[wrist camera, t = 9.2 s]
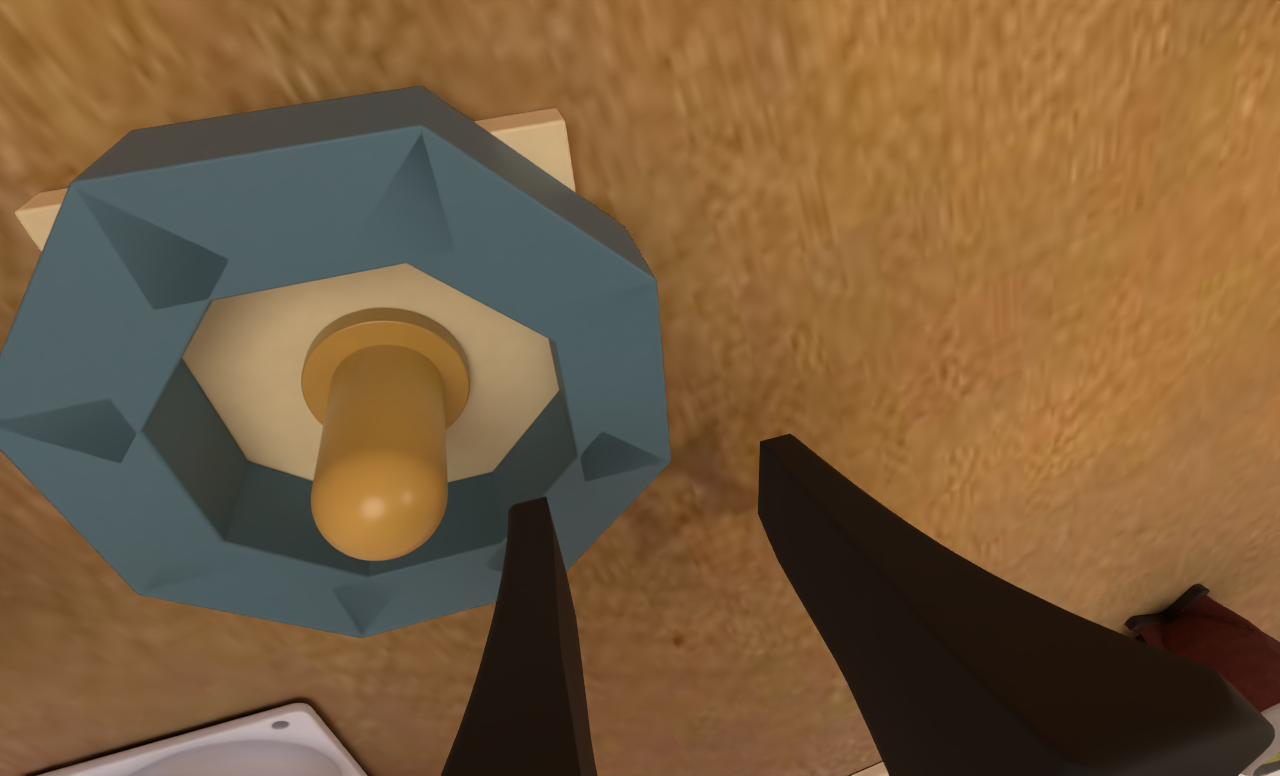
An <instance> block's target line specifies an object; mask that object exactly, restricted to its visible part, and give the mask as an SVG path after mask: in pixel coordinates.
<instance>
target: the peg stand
mask: <svg viewBox="0 0 1280 776" xmlns="http://www.w3.org/2000/svg"><path fill="white" fill-rule="evenodd" d="M473 122H475V123H476V124H478V125H479V126H481V127H482V128H483V129H485V130H486V131H488V132H489V133H491V134H492V135H494V136H495V137H496V138H498V139H499V140H501V141H502V142H504V143H505V144H507V145H508V146H509V147H511V148H512V149H514V150H515V151H517V152H518V153H519V154H521V155H522V156H524V157H525V158H527V159H528V160H530V161H531V162H532V163H534V164H535V165H537V166H538V167H540V168H541V169H542V170H544V171H545V172H547V173H548V174H550V175H551V176H553V177H554V178H555V179H557V180H558V181H560V182H561V183H563V184H564V185H566V186H567V187H568V188H570V189H571V190H573V191H574V192H576V190H575V183H574V176H573V170H572V163H571V157H570V150H569V143H568V137H567V130H566V124H565V121H564V119H563V118H562V116H561V114H560V113H559V111H558V109H556V108H551V109H545V110H539V111H533V112H527V113H521V114H515V115H509V116H503V117H497V118H490V119H484V120H478V121H473ZM67 189H68V188H65V189H59V190H53V191H47V192H41V193H38V194H36V195H35V196H34V197H33V198H32V199H30V200H29V201H28V202H27V203H25V204H24V205H23V206H22V207H20V208H19V209H18V210H17V211H15V215H16V217H17V218H18V220H19V221H20V222H21V224H22V225H23V227H24V228H25V229H26V231H27V232H28V234H29V235H30V236H31V238H32V239H33V241H34V242H35V243H36V245H37V246H38V248H39V249H40V250H41V252H42V250H43V248H44V245H45V243H46V240H47V238H48V236H49V233H50V231H51V228H52V226H53V223H54V221H55V218H56V216H57V214H58V211H59V209H60V206H61V204H62V201H63V199H64V196H65V194H66V192H67ZM182 359H183V360H184V362H185V363H186V365H187V367H188V368H189V370H190V371H191V373H192V374H193V376H194V378H195V379H196V381H197V382H198V384H199V385H200V387H201V389H202V390H203V392H204V393H205V395H206V396H207V398H208V399H209V401H210V403H211V404H212V406H213V407H214V409H215V410H216V412H217V414H218V415H219V417H220V418H221V420H222V421H223V423H224V425H225V426H226V428H227V429H228V431H229V432H230V434H231V436H232V437H233V439H234V440H235V442H236V443H237V445H238V446H239V448H240V450H241V451H242V453H243V454H244V456H245V457H246V459H247V461H250V462H253V463H256V464H259V465H262V466H265V467H269V468H272V469H275V470H278V471H281V472H285V473H288V474H291V475H294V476H297V477H301V478H304V479H307V480H310V481H313V485H312V491H311V509H312V514H313V518H314V521H315V523H316V525H317V528H318V529H319V531H320V533H321V534H322V535H323V537H324V538H325V539H326V540H327V541H328V542H329V543H330V544H331V545H332V546H333V547H334V548H336V549H337V550H339V551H341V552H342V553H344V554H346V555H348V556H350V557H353V558H357V559H361V560H368V561H383V560H390V559H394V558H398V557H401V556H403V555H406V554H408V553H410V552H412V551H413V550H415V549H417V548H418V547H420V546H421V545H422V544H423V543H424V542H426V541H427V540H428V539H429V538H430V537H431V535H432V534H433V533H434V532H435V530H436V529H437V527H438V526H439V524H440V522H441V520H442V518H443V516H444V513H445V510H446V506H447V500H448V482H452V481H456V480H460V479H464V478H468V477H473V476H477V475H481V474H485V473H489V472H493V470H494V469H495V468H496V467H497V466H498V464H499V463H500V462H501V461H502V459H503V458H504V457H505V456H506V455H507V453H508V452H509V451H510V450H511V448H512V447H513V446H514V445H515V444H516V442H517V441H518V440H519V439H520V437H521V436H522V435H523V434H524V433H525V431H526V430H527V429H528V428H529V426H530V425H531V424H532V423H533V422H534V420H535V419H536V418H537V417H538V415H539V414H540V413H541V412H542V411H543V409H544V408H545V407H546V406H547V405H548V403H549V402H550V401H551V400H552V398H553V397H554V396H555V395H556V394H557V392H558V391H559V387H558V382H557V377H556V373H555V368H554V363H553V358H552V353H551V348H550V344H549V339H548V338H547V337H545V336H543V335H541V334H539V333H537V332H535V331H533V330H531V329H530V328H528V327H526V326H524V325H522V324H520V323H518V322H516V321H514V320H513V319H511V318H509V317H507V316H505V315H503V314H501V313H499V312H497V311H496V310H494V309H492V308H490V307H488V306H486V305H484V304H482V303H480V302H479V301H477V300H475V299H473V298H471V297H469V296H467V295H465V294H463V293H462V292H460V291H458V290H456V289H454V288H452V287H450V286H448V285H446V284H445V283H443V282H441V281H439V280H437V279H435V278H433V277H431V276H429V275H428V274H426V273H424V272H422V271H420V270H418V269H416V268H414V267H413V266H411V265H409V264H407V263H404V264H399V265H394V266H388V267H383V268H378V269H373V270H368V271H362V272H357V273H352V274H347V275H342V276H336V277H331V278H326V279H321V280H316V281H311V282H305V283H300V284H295V285H290V286H285V287H279V288H274V289H269V290H264V291H259V292H254V293H248V294H243V295H238V296H233V297H228V298H222V299H217V300H213V301H212V302H211V304H210V306H209V308H208V310H207V312H206V314H205V315H204V317H203V319H202V321H201V323H200V325H199V327H198V328H197V330H196V332H195V334H194V336H193V338H192V340H191V342H190V343H189V345H188V347H187V349H186V351H185V353H184V355H183V356H182Z"/></svg>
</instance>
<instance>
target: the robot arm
mask: <svg viewBox="0 0 1280 776" xmlns="http://www.w3.org/2000/svg"><path fill="white" fill-rule="evenodd" d="M758 515H759V517H760V519H761V522H762V524H763V527H764V529H765V532H766V534H767V536H768V539H769V541H770V543H771V546H772V548H773V550H774V552H775V555H776V557H777V559H778V561H779V563H780V565H781V567H782V568H783V570H784V572H785V574H786V575H787V577H788V579H789V581H790V582H791V584H792V586H793V588H794V589H795V591H796V593H797V595H798V596H799V598H800V600H801V602H802V603H803V605H804V607H805V609H806V610H807V612H808V614H809V615H810V617H811V619H812V621H813V622H814V624H815V626H816V627H817V629H818V631H819V633H820V634H821V636H822V638H823V640H824V641H825V643H826V645H827V646H828V648H829V650H830V652H831V653H832V655H833V657H834V658H835V660H836V662H837V664H838V666H839V668H840V670H841V672H842V673H843V675H844V677H845V679H846V681H847V683H848V685H849V687H850V689H851V692H852V694H853V696H854V698H855V700H856V702H857V705H858V707H859V709H860V711H861V713H862V715H863V718H864V720H865V722H866V724H867V726H868V729H869V731H870V733H871V735H872V737H873V740H874V742H875V744H876V747H877V749H878V751H879V753H880V756H881V758H882V760H883V763H884V765H885V767H886V769H887V772H888V774H889V776H1238V775H1239V774H1240V773H1241V772H1243V771H1244V770H1245V769H1246V768H1247V767H1248V766H1249V765H1250V764H1252V763H1253V762H1254V761H1255V760H1256V759H1257V758H1258V757H1259V756H1260V755H1262V754H1263V753H1264V752H1265V751H1266V749H1267V748H1268V747H1269V746H1270V745H1271V744H1272V742H1273V740H1274V738H1275V729H1274V727H1273V726H1272V724H1271V723H1270V722H1269V721H1268V720H1267V719H1266V718H1265V717H1264V716H1263V715H1262V714H1261V713H1260V712H1259V711H1258V710H1257V709H1256V708H1255V707H1254V706H1253V705H1252V704H1251V703H1250V702H1249V701H1248V700H1247V699H1246V698H1245V697H1244V696H1243V695H1242V694H1241V693H1240V692H1239V691H1238V690H1237V689H1236V688H1234V687H1233V686H1232V685H1231V684H1230V683H1229V682H1228V681H1227V680H1226V679H1225V678H1224V677H1223V676H1222V675H1220V674H1219V673H1218V672H1217V671H1216V670H1215V669H1214V668H1212V667H1209V666H1207V665H1204V664H1201V663H1198V662H1196V661H1193V660H1190V659H1187V658H1185V657H1182V656H1179V655H1176V654H1174V653H1171V652H1168V651H1165V650H1163V649H1160V648H1157V647H1154V646H1152V645H1149V644H1146V643H1143V642H1141V641H1138V640H1135V639H1133V638H1130V637H1128V636H1125V635H1123V634H1120V633H1118V632H1116V631H1113V630H1111V629H1108V628H1106V627H1104V626H1101V625H1099V624H1096V623H1094V622H1092V621H1089V620H1087V619H1084V618H1082V617H1080V616H1078V615H1075V614H1073V613H1071V612H1069V611H1066V610H1064V609H1062V608H1060V607H1058V606H1056V605H1054V604H1052V603H1050V602H1048V601H1045V600H1043V599H1041V598H1039V597H1037V596H1035V595H1033V594H1031V593H1029V592H1027V591H1025V590H1023V589H1021V588H1018V587H1016V586H1014V585H1012V584H1010V583H1008V582H1006V581H1005V580H1003V579H1001V578H999V577H997V576H995V575H993V574H991V573H989V572H988V571H986V570H984V569H982V568H981V567H979V566H977V565H975V564H973V563H972V562H970V561H968V560H966V559H965V558H963V557H961V556H959V555H958V554H956V553H954V552H953V551H951V550H950V549H948V548H946V547H945V546H943V545H941V544H940V543H938V542H937V541H935V540H933V539H932V538H930V537H929V536H927V535H926V534H924V533H923V532H921V531H920V530H918V529H917V528H915V527H914V526H912V525H911V524H909V523H908V522H906V521H905V520H903V519H902V518H900V517H899V516H897V515H896V514H895V513H893V512H892V511H890V510H889V509H887V508H886V507H885V506H883V505H882V504H881V503H879V502H878V501H877V500H875V499H874V498H872V497H871V496H870V495H868V494H867V493H866V492H864V491H863V490H861V489H860V488H859V487H857V486H856V485H855V484H854V483H852V482H851V481H850V480H848V479H847V478H846V477H844V476H843V475H842V474H841V473H839V472H838V471H837V470H836V469H834V468H833V467H832V466H830V465H829V464H828V463H827V462H825V461H824V460H823V459H822V458H820V457H819V456H818V455H817V454H816V453H814V452H813V451H812V450H811V449H809V448H808V447H807V446H806V445H804V444H803V443H802V442H801V441H799V440H798V439H797V438H796V437H794V436H793V435H791V434H787V435H783V436H779V437H775V438H771V439H767V440H763V441H760V461H759V495H758ZM37 776H368V775H367V774H366V773H365V772H364V771H363V769H362V768H361V767H360V766H359V765H358V763H357V762H356V761H355V760H354V758H353V757H352V756H351V755H350V754H349V752H348V751H347V750H346V749H345V747H344V746H343V745H342V744H341V743H340V741H339V740H338V739H337V738H336V736H335V735H334V734H333V733H332V732H331V730H330V729H329V728H328V727H327V726H326V724H325V723H324V722H323V721H322V719H321V718H320V717H319V716H318V715H317V713H316V712H315V711H314V710H313V708H312V707H311V706H309V705H308V704H305V703H293V704H289V705H285V706H282V707H278V708H275V709H271V710H267V711H264V712H260V713H257V714H253V715H250V716H246V717H243V718H239V719H236V720H232V721H228V722H225V723H221V724H218V725H214V726H211V727H207V728H204V729H200V730H196V731H193V732H189V733H186V734H182V735H179V736H175V737H172V738H168V739H164V740H161V741H157V742H154V743H150V744H147V745H143V746H140V747H136V748H133V749H129V750H125V751H122V752H118V753H115V754H111V755H108V756H104V757H101V758H97V759H93V760H90V761H86V762H83V763H79V764H76V765H72V766H69V767H65V768H62V769H58V770H54V771H51V772H47V773H44V774H40V775H37ZM441 776H597V771H596V766H595V761H594V754H593V748H592V742H591V735H590V727H589V719H588V710H587V702H586V694H585V686H584V677H583V669H582V661H581V653H580V645H579V636H578V628H577V620H576V615H575V610H574V606H573V601H572V597H571V592H570V588H569V583H568V579H567V574H566V570H565V565H564V561H563V558H562V554H561V550H560V546H559V542H558V539H557V535H556V531H555V527H554V523H553V519H552V516H551V512H550V508H549V504H548V500H547V497H546V496H545V497H541V498H537V499H533V500H529V501H525V502H521V503H517V504H514V505H512V507H511V508H510V509H509V510H508V532H507V543H506V551H505V558H504V565H503V571H502V577H501V582H500V587H499V591H498V596H497V601H496V606H495V611H494V615H493V620H492V624H491V627H490V631H489V635H488V638H487V642H486V646H485V650H484V653H483V657H482V661H481V664H480V668H479V671H478V674H477V677H476V681H475V684H474V687H473V690H472V693H471V696H470V699H469V702H468V705H467V708H466V711H465V714H464V716H463V719H462V722H461V725H460V728H459V730H458V733H457V735H456V738H455V741H454V743H453V746H452V748H451V751H450V753H449V756H448V759H447V761H446V764H445V766H444V769H443V771H442V774H441Z"/></svg>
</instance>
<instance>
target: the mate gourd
mask: <svg viewBox="0 0 1280 776" xmlns="http://www.w3.org/2000/svg"><path fill="white" fill-rule="evenodd" d="M1209 592H1210V590H1208V589H1207V588H1205V587H1204V586H1202V585H1195V586H1193V587H1192V588H1191V589H1190V590H1189V591H1188V592H1187V593H1185V594H1184V595H1183V596H1182V597H1181V598H1180V599H1179V600H1178V601H1177V602H1176V603H1175V604H1173V605H1172V606H1171V607H1170V608H1169V609H1168V610H1167V611H1166V612H1164V613H1162V614H1158V615H1146V616H1136V617H1133V618H1131V619H1130V620H1129V621H1128V622H1127V623H1126V624H1125V625H1126V626H1127V627H1128V628H1129V630H1130V631H1139V632H1140V634H1141V635H1140V636H1139V637H1137V638H1136V639H1135V640H1138V641H1141V642H1143V643H1146V644H1149V645H1152V646H1154V647H1157V648H1160V649H1163V650H1165V651H1168V652H1171V653H1174V654H1176V655H1179V656H1182V657H1185V658H1187V659H1190V660H1193V661H1196V662H1198V663H1201V664H1204V665H1207V666H1209V667H1212V668H1214V669H1215V670H1216V671H1217V672H1218V673H1219V674H1220V675H1222V676H1223V677H1224V678H1225V679H1226V680H1227V681H1228V682H1229V683H1230V684H1231V685H1232V686H1233V687H1234V688H1236V689H1237V690H1238V691H1239V692H1240V693H1241V694H1242V695H1243V696H1244V697H1245V698H1246V699H1247V700H1248V701H1249V702H1250V703H1251V704H1252V705H1253V706H1254V707H1255V708H1256V709H1257V710H1258V711H1259V712H1260V713H1261V714H1262V715H1263V716H1264V717H1265V718H1266V719H1267V720H1268V721H1269V722H1270V723H1271V724H1272V726H1273V727H1274V729H1275V738H1274V740H1273V742H1272V744H1271V745H1270V746H1269V747H1268V748H1267V749H1266V751H1265V752H1264V753H1263V754H1262V755H1260V756H1259V757H1258V758H1257V759H1256V760H1255V761H1254V762H1253V763H1252V764H1250V765H1249V766H1248V767H1247V768H1246V769H1245V770H1244V771H1243V772H1241V774H1244V775H1246V776H1264V775H1268V774H1270V773H1273V772H1275V771H1278V770H1280V642H1279V641H1277V640H1275V639H1274V638H1272V637H1271V636H1269V635H1267V634H1266V633H1264V632H1262V631H1261V630H1260V629H1258V628H1257V627H1256V626H1255V625H1253V624H1252V623H1251V622H1249V621H1248V620H1246V619H1245V618H1243V617H1241V616H1240V615H1238V614H1236V613H1235V612H1233V611H1231V610H1230V609H1228V608H1226V607H1224V606H1222V605H1221V604H1219V603H1217V602H1216V601H1214V600H1212V599H1211V598H1209V597H1208V596H1206V595H1207V594H1208V593H1209Z"/></svg>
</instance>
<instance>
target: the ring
mask: <svg viewBox="0 0 1280 776" xmlns="http://www.w3.org/2000/svg"><path fill="white" fill-rule="evenodd" d="M404 263H407V264H409V265H411V266H413V267H414V268H416V269H418V270H420V271H422V272H424V273H426V274H428V275H429V276H431V277H433V278H435V279H437V280H439V281H441V282H443V283H445V284H446V285H448V286H450V287H452V288H454V289H456V290H458V291H460V292H462V293H463V294H465V295H467V296H469V297H471V298H473V299H475V300H477V301H479V302H480V303H482V304H484V305H486V306H488V307H490V308H492V309H494V310H496V311H497V312H499V313H501V314H503V315H505V316H507V317H509V318H511V319H513V320H514V321H516V322H518V323H520V324H522V325H524V326H526V327H528V328H530V329H531V330H533V331H535V332H537V333H539V334H541V335H543V336H545V337H547V338H548V339H549V344H550V348H551V353H552V358H553V363H554V368H555V373H556V377H557V382H558V387H559V391H558V392H557V394H556V395H555V396H554V397H553V398H552V400H551V401H550V402H549V403H548V405H547V406H546V407H545V408H544V409H543V411H542V412H541V413H540V414H539V415H538V417H537V418H536V419H535V420H534V422H533V423H532V424H531V425H530V426H529V428H528V429H527V430H526V431H525V433H524V434H523V435H522V436H521V437H520V439H519V440H518V441H517V442H516V444H515V445H514V446H513V447H512V448H511V450H510V451H509V452H508V453H507V455H506V456H505V457H504V458H503V459H502V461H501V462H500V463H499V464H498V466H497V467H496V468H495V469H494V470H493V472H489V473H485V474H481V475H477V476H473V477H468V478H464V479H460V480H456V481H452V482H448V500H447V506H446V510H445V513H444V516H443V518H442V520H441V522H440V524H439V526H438V527H437V529H436V530H435V532H434V533H433V534H432V535H431V537H430V538H429V539H428V540H427V541H426V542H424V543H423V544H422V545H421V546H420V547H418V548H417V549H415V550H413V551H412V552H410V553H408V554H406V555H403V556H401V557H398V558H394V559H390V560H383V561H368V560H361V559H357V558H353V557H350V556H348V555H346V554H344V553H342V552H341V551H339V550H337V549H336V548H334V547H333V546H332V545H331V544H330V543H329V542H328V541H327V540H326V539H325V538H324V537H323V535H322V534H321V533H320V531H319V529H318V528H317V525H316V523H315V521H314V518H313V514H312V509H311V491H312V485H313V481H310V480H307V479H304V478H301V477H297V476H294V475H291V474H288V473H285V472H281V471H278V470H275V469H272V468H269V467H265V466H262V465H259V464H256V463H253V462H250V461H247V459H246V457H245V456H244V454H243V453H242V451H241V450H240V448H239V446H238V445H237V443H236V442H235V440H234V439H233V437H232V436H231V434H230V432H229V431H228V429H227V428H226V426H225V425H224V423H223V421H222V420H221V418H220V417H219V415H218V414H217V412H216V410H215V409H214V407H213V406H212V404H211V403H210V401H209V399H208V398H207V396H206V395H205V393H204V392H203V390H202V389H201V387H200V385H199V384H198V382H197V381H196V379H195V378H194V376H193V374H192V373H191V371H190V370H189V368H188V367H187V365H186V363H185V362H184V360H183V359H182V356H183V355H184V353H185V351H186V349H187V347H188V345H189V343H190V342H191V340H192V338H193V336H194V334H195V332H196V330H197V328H198V327H199V325H200V323H201V321H202V319H203V317H204V315H205V314H206V312H207V310H208V308H209V306H210V304H211V302H212V301H213V300H217V299H222V298H228V297H233V296H238V295H243V294H248V293H254V292H259V291H264V290H269V289H274V288H279V287H285V286H290V285H295V284H300V283H305V282H311V281H316V280H321V279H326V278H331V277H336V276H342V275H347V274H352V273H357V272H362V271H368V270H373V269H378V268H383V267H388V266H394V265H399V264H404ZM0 450H1V451H2V452H3V453H4V454H5V455H6V457H7V458H8V459H9V460H10V461H11V462H12V463H13V464H14V465H15V466H16V467H17V468H18V469H19V470H20V471H21V472H22V473H23V474H24V475H25V477H26V478H27V479H28V480H29V481H30V482H31V483H32V484H33V485H34V486H35V487H36V488H37V489H38V490H39V491H40V492H41V493H42V494H43V495H44V496H45V498H46V499H47V500H48V501H49V502H50V503H51V504H52V505H53V506H54V507H55V508H56V509H57V510H58V511H59V512H60V513H61V514H62V515H63V516H64V518H65V519H66V520H67V521H68V522H69V523H70V524H71V525H72V526H73V527H74V528H75V529H76V530H77V531H78V532H79V533H80V534H81V535H82V536H83V537H84V539H85V540H86V541H87V542H88V543H89V544H90V545H91V546H92V547H93V548H94V549H95V550H96V551H97V552H98V553H99V554H100V555H101V556H102V557H103V559H104V560H105V561H106V562H107V563H108V564H109V565H110V566H111V567H112V568H113V569H114V570H115V571H116V572H117V573H118V574H119V575H120V576H121V577H122V579H123V580H124V581H125V582H126V583H127V584H128V585H129V586H130V587H131V588H132V589H133V590H134V591H135V592H136V593H138V594H139V595H142V596H147V597H152V598H157V599H163V600H168V601H173V602H178V603H183V604H188V605H194V606H199V607H204V608H209V609H214V610H219V611H225V612H230V613H235V614H240V615H245V616H250V617H256V618H261V619H266V620H271V621H276V622H281V623H286V624H292V625H297V626H302V627H307V628H312V629H317V630H323V631H328V632H333V633H338V634H343V635H348V636H354V637H359V638H360V637H361V638H364V637H368V636H372V635H375V634H379V633H383V632H386V631H390V630H394V629H397V628H401V627H405V626H408V625H412V624H416V623H419V622H423V621H427V620H430V619H434V618H438V617H442V616H445V615H449V614H453V613H456V612H460V611H464V610H467V609H471V608H475V607H478V606H482V605H486V604H489V603H493V602H496V601H497V596H498V591H499V587H500V582H501V577H502V571H503V565H504V558H505V551H506V543H507V532H508V510H509V509H510V508H511V507H512V505H514V504H517V503H521V502H525V501H529V500H533V499H537V498H541V497H545V496H546V497H547V500H548V504H549V508H550V512H551V516H552V519H553V523H554V527H555V531H556V535H557V539H558V542H559V546H560V550H561V554H562V558H563V561H564V565H565V570H566V572H567V571H568V570H569V569H570V567H571V566H572V565H573V564H574V563H575V562H576V561H577V560H578V559H579V558H580V557H581V556H582V555H583V554H584V553H585V552H586V551H587V550H588V548H589V547H590V546H591V545H592V544H593V543H594V542H595V541H596V540H597V539H598V538H599V537H600V536H601V535H602V534H603V533H604V532H605V531H606V529H607V528H608V527H609V526H610V525H611V524H612V523H613V522H614V521H615V520H616V519H617V518H618V517H619V516H620V515H621V514H622V513H623V512H624V511H625V509H626V508H627V507H628V506H629V505H630V504H631V503H632V502H633V501H634V500H635V499H636V498H637V497H638V496H639V495H640V494H641V493H642V492H643V490H644V489H645V488H646V487H647V486H648V485H649V484H650V483H651V482H652V481H653V480H654V479H655V478H656V477H657V476H658V475H659V474H660V473H661V471H662V470H663V469H664V468H665V467H666V466H667V465H668V464H669V463H670V462H671V453H670V440H669V428H668V415H667V403H666V390H665V378H664V365H663V353H662V340H661V328H660V315H659V303H658V290H657V281H656V279H655V277H654V275H653V274H652V272H651V270H650V269H649V267H648V265H647V264H646V262H645V260H644V258H643V257H642V255H641V253H640V252H639V250H638V248H637V247H636V245H635V243H634V241H633V240H632V238H631V236H630V235H629V233H628V231H627V230H626V228H625V226H623V225H622V224H620V223H619V222H617V221H616V220H614V219H613V218H612V217H610V216H609V215H607V214H606V213H604V212H603V211H601V210H600V209H599V208H597V207H596V206H594V205H593V204H591V203H590V202H589V201H587V200H586V199H584V198H583V197H581V196H580V195H578V194H577V193H576V192H574V191H573V190H571V189H570V188H568V187H567V186H566V185H564V184H563V183H561V182H560V181H558V180H557V179H555V178H554V177H553V176H551V175H550V174H548V173H547V172H545V171H544V170H542V169H541V168H540V167H538V166H537V165H535V164H534V163H532V162H531V161H530V160H528V159H527V158H525V157H524V156H522V155H521V154H519V153H518V152H517V151H515V150H514V149H512V148H511V147H509V146H508V145H507V144H505V143H504V142H502V141H501V140H499V139H498V138H496V137H495V136H494V135H492V134H491V133H489V132H488V131H486V130H485V129H483V128H482V127H481V126H479V125H478V124H476V123H475V122H473V121H472V120H471V119H469V118H468V117H466V116H465V115H463V114H462V113H460V112H459V111H458V110H456V109H455V108H453V107H452V106H450V105H449V104H448V103H446V102H445V101H443V100H442V99H440V98H439V97H437V96H436V95H435V94H433V93H432V92H430V91H429V90H427V89H426V88H425V87H422V86H415V87H409V88H402V89H396V90H390V91H383V92H377V93H370V94H364V95H357V96H351V97H344V98H338V99H331V100H325V101H319V102H312V103H306V104H299V105H293V106H286V107H280V108H273V109H267V110H260V111H254V112H247V113H241V114H235V115H228V116H222V117H215V118H209V119H202V120H196V121H189V122H183V123H176V124H170V125H164V126H157V127H151V128H144V129H138V130H132V131H130V132H129V133H128V134H127V135H126V136H125V137H123V138H122V139H121V140H120V141H119V142H118V143H116V144H115V145H114V146H113V147H112V148H111V149H109V150H108V151H107V152H106V153H105V154H104V155H102V156H101V157H100V158H99V159H98V160H97V161H95V162H94V163H93V164H92V165H91V166H89V167H88V168H87V169H86V170H85V171H84V172H82V173H81V174H80V175H79V176H78V177H77V178H75V179H74V180H73V181H72V182H71V183H70V184H69V187H68V189H67V192H66V194H65V196H64V199H63V201H62V204H61V206H60V209H59V211H58V214H57V216H56V218H55V221H54V223H53V226H52V228H51V231H50V233H49V236H48V238H47V240H46V243H45V245H44V248H43V250H42V253H41V255H40V258H39V260H38V262H37V265H36V267H35V270H34V272H33V275H32V277H31V280H30V282H29V284H28V287H27V289H26V292H25V294H24V297H23V299H22V302H21V304H20V306H19V309H18V311H17V314H16V316H15V319H14V321H13V324H12V326H11V328H10V331H9V333H8V336H7V338H6V341H5V343H4V346H3V348H2V351H1V353H0Z"/></svg>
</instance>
